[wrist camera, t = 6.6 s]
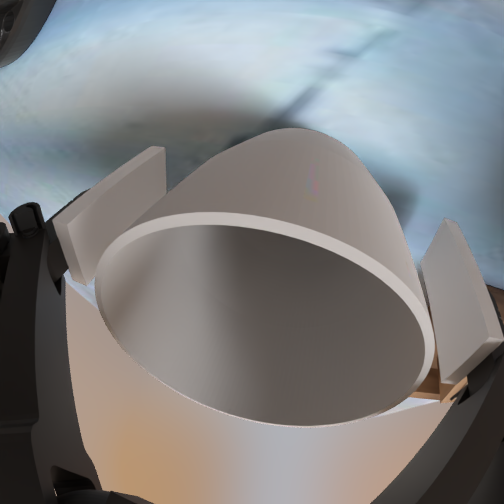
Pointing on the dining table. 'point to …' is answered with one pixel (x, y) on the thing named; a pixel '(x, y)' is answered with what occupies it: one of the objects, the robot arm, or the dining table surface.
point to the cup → (273, 287)
